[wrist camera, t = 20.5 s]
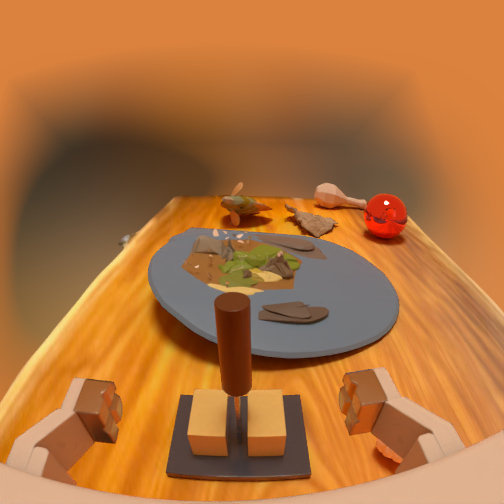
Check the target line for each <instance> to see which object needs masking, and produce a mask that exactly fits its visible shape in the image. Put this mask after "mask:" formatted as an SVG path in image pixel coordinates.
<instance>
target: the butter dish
mask: <svg viewBox="0 0 504 504" xmlns="http://www.w3.org/2000/svg"><path fill="white" fill-rule="evenodd" d="M241 412H242V444H238V438H237V426H236V414H235V401H234V396H229V395H228V394H226V393H225V392H224V391H223V390H208V389H194V395H180V400H179V405H178V410H177V415H176V420H175V426H174V431H173V436H172V441H171V447H170V452H169V458H168V463H167V469H166V474H167V475H168V476H170V477H180V478H190V479H204V480H226V481H265V480H287V479H301V478H310V476H311V468H310V461H309V454H308V447H307V440H306V433H305V426H304V420H303V413H302V406H301V400H300V395H282V389H271V390H250V391H249V392H248V396H241Z"/></svg>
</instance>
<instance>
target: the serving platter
mask: <svg viewBox="0 0 504 504" xmlns="http://www.w3.org/2000/svg"><path fill="white" fill-rule="evenodd" d="M148 280H149V284H150V286H151V289H152V291H153V293H154V295H155V296H156V298H157V300H158V301H159V303H160V304H161V305H162V307H163V308H164V309H166V310H167V311H168V312H169V313H170V314H172V315H173V316H174V317H175V318H177V319H178V320H179V321H180V322H182V323H183V324H184V325H185V326H187V327H188V328H189V329H191V330H192V331H193V332H195V333H196V334H198V335H200V336H202V337H204V338H206V339H208V340H210V341H212V342H214V343H217V332H216V321H215V309H214V300H215V298H216V297H217V296H219V295H221V294H223V293H227V292H240V293H243V294H245V295H247V296H248V297H249V298H250V301H251V354H256V355H261V356H267V357H279V358H309V357H320V356H326V355H332V354H338V353H343V352H347V351H351V350H354V349H357V348H360V347H363V346H365V345H367V344H370V343H372V342H374V341H376V340H378V339H379V338H381V337H382V336H383V335H384V334H386V333H387V332H388V331H389V330H390V329H391V327H392V326H393V325H394V323H395V321H396V319H397V316H398V313H399V299H398V296H397V293H396V291H395V289H394V287H393V286H392V284H391V283H390V281H389V280H388V278H387V277H386V276H385V275H384V273H383V272H381V271H380V270H379V269H378V268H377V267H375V266H374V265H373V264H371V263H370V262H369V261H367V260H366V259H364V258H363V257H362V256H360V255H358V254H357V253H355V252H353V251H351V250H349V249H347V248H345V247H342V246H340V245H337V244H335V243H332V242H328V241H325V240H321V239H317V238H312V237H306V236H299V235H287V234H274V233H261V232H248V231H234V230H220V229H205V228H190V229H188V230H187V231H185V232H184V233H181V234H178V235H175V236H173V237H172V238H170V240H169V241H168V243H167V244H166V245H164V246H163V247H162V248H160V249H159V250H158V251H157V252H156V253H155V254H154V256H153V257H152V259H151V261H150V264H149V268H148ZM217 344H218V343H217Z"/></svg>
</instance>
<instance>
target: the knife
mask: <svg viewBox="0 0 504 504" xmlns="http://www.w3.org/2000/svg"><path fill="white" fill-rule="evenodd" d="M214 309H215V321H216V332H217V343H218V353H219V363H220V373H221V382H222V389H223V391H224V392H225V393H226V394H228V395H230V396H234V401H235V414H236V426H237V438H238V444H242V412H241V396H243V395H245V394H247V393H248V392H249V391H250V390H251V388H252V365H251V301H250V298H249V297H248V296H247V295H245V294H243V293H240V292H227V293H223V294H221V295H219V296H217V297H216V298H215V300H214Z"/></svg>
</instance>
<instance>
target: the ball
mask: <svg viewBox="0 0 504 504" xmlns="http://www.w3.org/2000/svg"><path fill="white" fill-rule="evenodd" d="M364 221H365V224H366V226H367V228H368V230H369V231H370V232H371V233H372V234H373V235H375V236H377V237H379V238H383V239H389V238H393V237H395V236H397V235H399V234H400V233H401V232H402V231H403V229H404V228H405V226H406V223H407V210H406V207H405V205H404V204H403V202H402V201H401V200H400V199H399V198H398V197H396V196H394V195H391V194H384V193H383V194H378V195H376V196H374V197H373V198H372V199H370V200H369V201H368V203H367V205H366V207H365V210H364Z"/></svg>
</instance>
